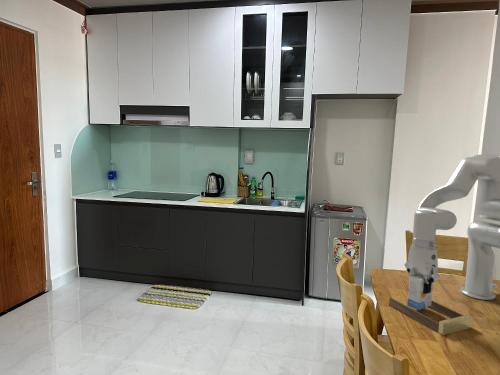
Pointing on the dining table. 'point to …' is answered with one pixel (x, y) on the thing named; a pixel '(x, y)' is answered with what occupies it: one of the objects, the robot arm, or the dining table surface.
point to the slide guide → (443, 327)
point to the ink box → (418, 291)
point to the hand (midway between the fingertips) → (419, 289)
